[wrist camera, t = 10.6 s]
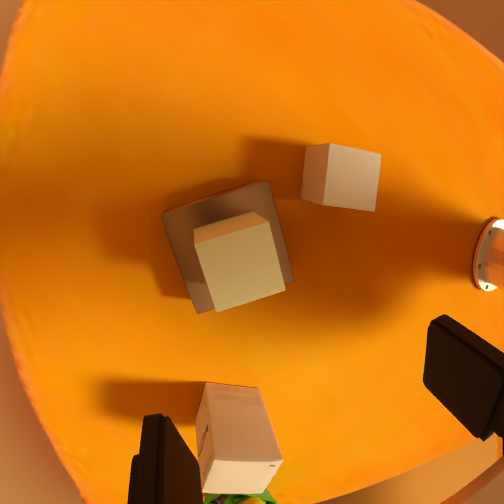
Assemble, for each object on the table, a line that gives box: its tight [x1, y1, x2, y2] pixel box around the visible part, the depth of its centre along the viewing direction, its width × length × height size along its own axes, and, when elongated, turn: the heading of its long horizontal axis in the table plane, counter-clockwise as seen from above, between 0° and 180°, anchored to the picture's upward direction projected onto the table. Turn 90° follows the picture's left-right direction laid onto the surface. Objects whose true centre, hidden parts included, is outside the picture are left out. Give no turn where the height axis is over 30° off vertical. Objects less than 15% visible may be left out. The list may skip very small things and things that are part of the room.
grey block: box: [300, 143, 381, 212], centre depth 29 cm, size 6×6×6 cm
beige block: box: [194, 211, 286, 312], centre depth 25 cm, size 6×6×6 cm
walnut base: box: [161, 180, 295, 314], centre depth 30 cm, size 10×10×4 cm
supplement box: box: [195, 382, 283, 494], centre depth 31 cm, size 7×7×13 cm
